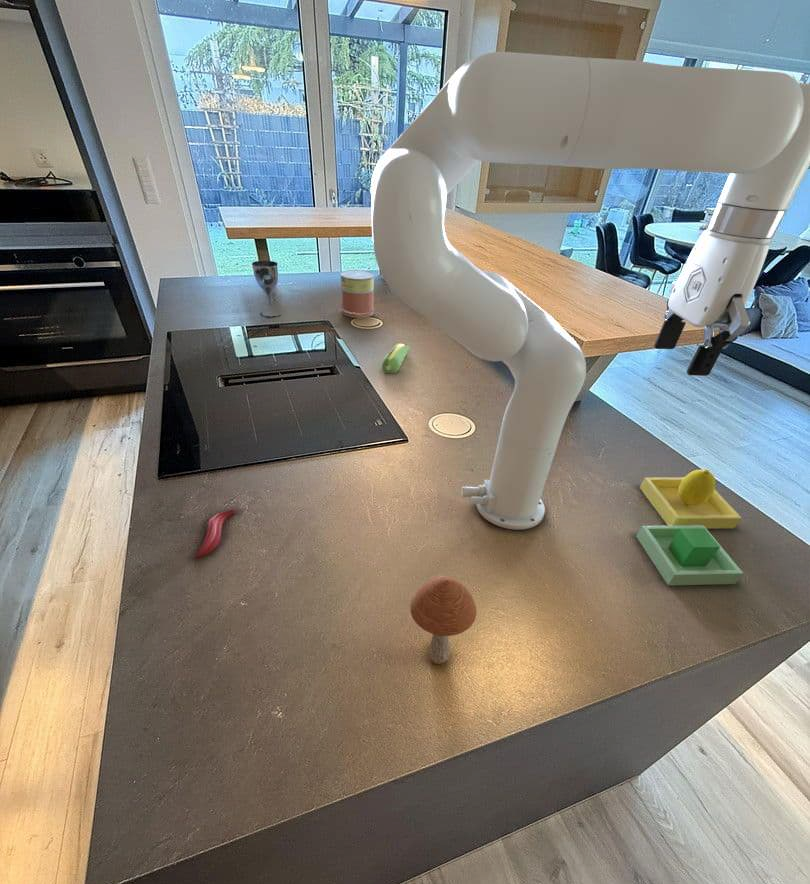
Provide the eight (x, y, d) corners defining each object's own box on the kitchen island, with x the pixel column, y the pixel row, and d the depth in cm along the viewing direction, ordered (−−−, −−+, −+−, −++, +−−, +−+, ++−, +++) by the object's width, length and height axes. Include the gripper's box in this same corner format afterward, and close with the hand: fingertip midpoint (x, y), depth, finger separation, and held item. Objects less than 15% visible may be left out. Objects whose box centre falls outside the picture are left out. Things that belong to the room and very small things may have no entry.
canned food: (345, 306, 168) (344, 268, 160) (375, 308, 167) (376, 271, 159) (338, 316, 160) (337, 277, 151) (371, 318, 159) (371, 280, 151)
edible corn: (378, 375, 126) (378, 359, 123) (396, 349, 140) (397, 334, 137) (396, 378, 125) (397, 362, 122) (412, 352, 139) (413, 336, 136)
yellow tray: (670, 529, 84) (676, 518, 83) (639, 487, 94) (644, 477, 92) (733, 528, 86) (741, 517, 84) (697, 487, 95) (703, 477, 93)
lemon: (705, 516, 87) (727, 481, 81) (674, 511, 87) (695, 476, 82) (697, 498, 91) (718, 464, 85) (668, 494, 91) (687, 459, 86)
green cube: (681, 566, 76) (694, 547, 73) (667, 547, 80) (679, 528, 77) (706, 566, 77) (720, 546, 74) (692, 547, 80) (705, 528, 77)
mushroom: (403, 631, 65) (410, 555, 54) (459, 629, 65) (476, 554, 55) (408, 683, 59) (417, 609, 49) (469, 679, 60) (490, 606, 49)
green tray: (667, 585, 74) (675, 574, 72) (636, 536, 82) (641, 525, 81) (734, 584, 75) (743, 573, 73) (696, 535, 83) (703, 525, 82)
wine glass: (255, 316, 155) (247, 265, 145) (264, 308, 161) (257, 259, 150) (278, 318, 154) (272, 267, 144) (286, 311, 160) (281, 262, 150)
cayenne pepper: (225, 508, 82) (222, 499, 80) (247, 515, 81) (245, 506, 79) (178, 552, 73) (174, 543, 72) (202, 560, 72) (199, 551, 71)
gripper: (679, 210, 63) (630, 339, 75) (759, 236, 51) (685, 385, 62) (730, 213, 64) (674, 340, 76) (821, 240, 51) (737, 387, 63)
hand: (679, 360), depth 69 cm, fingers open, 9 cm apart
